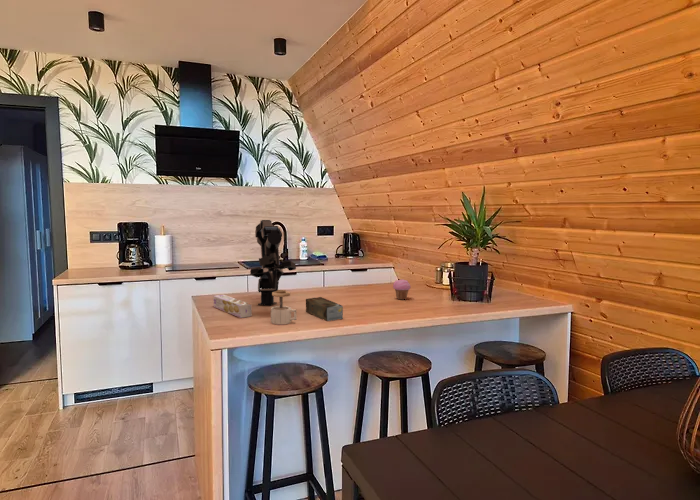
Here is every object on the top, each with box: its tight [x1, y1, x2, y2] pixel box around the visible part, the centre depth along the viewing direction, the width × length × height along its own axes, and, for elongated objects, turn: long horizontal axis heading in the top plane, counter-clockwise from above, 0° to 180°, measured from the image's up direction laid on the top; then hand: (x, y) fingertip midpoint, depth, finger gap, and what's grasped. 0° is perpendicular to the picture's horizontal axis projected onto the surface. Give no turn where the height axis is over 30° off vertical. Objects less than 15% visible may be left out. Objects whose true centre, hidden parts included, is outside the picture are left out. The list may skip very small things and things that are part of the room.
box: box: [212, 294, 253, 319], centre depth 196 cm, size 27×5×6 cm, turn 39°
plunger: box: [272, 289, 291, 308], centre depth 178 cm, size 7×7×7 cm
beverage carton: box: [305, 296, 344, 322], centre depth 191 cm, size 8×19×7 cm, turn 32°
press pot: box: [270, 305, 297, 326], centre depth 179 cm, size 10×8×6 cm
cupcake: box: [392, 278, 411, 300], centre depth 229 cm, size 9×9×10 cm
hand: (274, 288), depth 188 cm, fingers closed
